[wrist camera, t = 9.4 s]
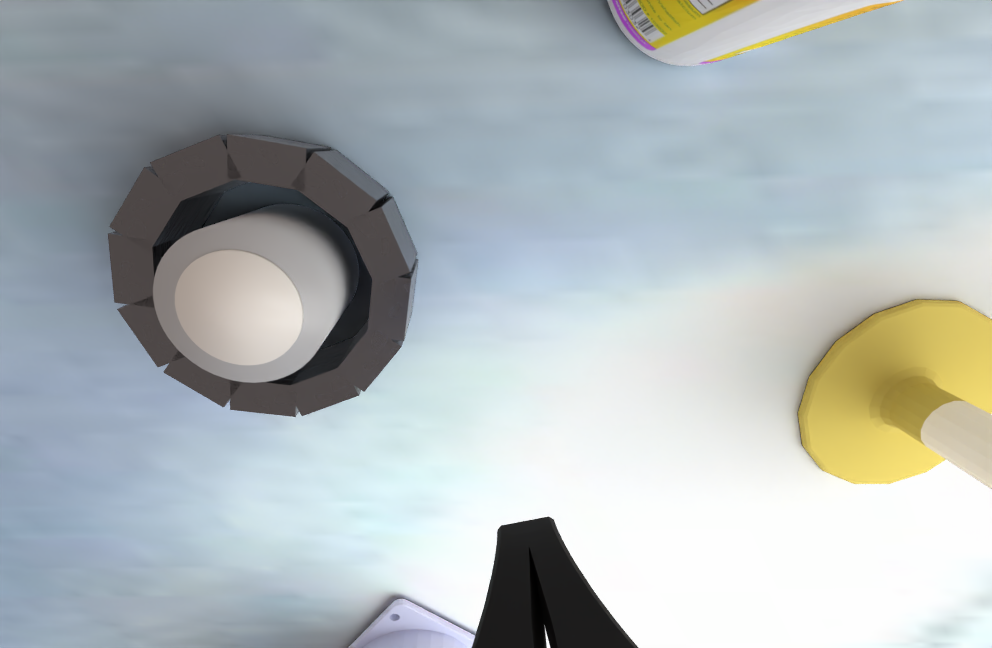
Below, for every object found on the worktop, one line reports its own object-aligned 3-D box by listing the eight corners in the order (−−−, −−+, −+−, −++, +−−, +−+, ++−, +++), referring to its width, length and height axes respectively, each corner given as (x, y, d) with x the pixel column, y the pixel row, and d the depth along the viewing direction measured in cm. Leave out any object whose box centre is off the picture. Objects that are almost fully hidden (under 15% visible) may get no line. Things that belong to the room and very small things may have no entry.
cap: (316, 348, 20) (272, 413, 16) (205, 278, 19) (118, 325, 14) (383, 256, 19) (358, 295, 14) (270, 175, 18) (199, 188, 13)
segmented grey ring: (329, 416, 22) (309, 457, 19) (118, 286, 19) (59, 311, 16) (464, 251, 19) (464, 270, 17) (247, 78, 17) (204, 65, 14)
